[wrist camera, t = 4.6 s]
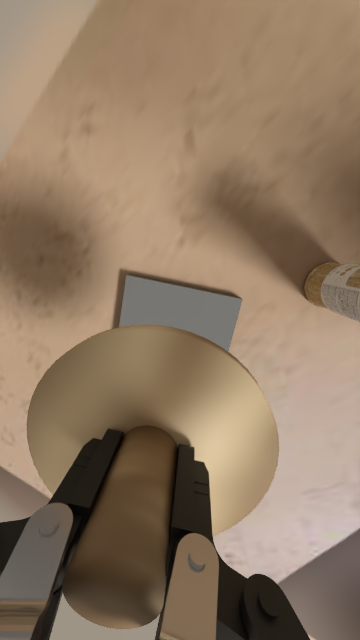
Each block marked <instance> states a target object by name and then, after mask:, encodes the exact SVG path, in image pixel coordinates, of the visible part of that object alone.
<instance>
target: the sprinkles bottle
mask: <svg viewBox="0 0 360 640" xmlns="http://www.w3.org/2000/svg"><path fill="white" fill-rule="evenodd" d="M304 290H305V294H306V297H307V298H308V300H309V301H310V302H311V303H313V304H314V305H316V306H319V307H325V308H328V309H330V310H331V311H333V312H336V313H338V314H341V315H344V316H346V317H349V318H351V319H354V320H356V321H359V322H360V264H340V263H336V262H327V263H324V264H321V265H319V266H318V267H316V268H315V269H313V270H312V271H311V273H310V274H309V275H308V277H307V279H306V282H305V286H304Z"/></svg>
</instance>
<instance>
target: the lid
mask: <svg viewBox="0 0 360 640" xmlns="http://www.w3.org/2000/svg"><path fill="white" fill-rule="evenodd" d="M108 428H109V429H114V430H118V431H123V438H122V441H121V443H120V446H119V448H118V450H117V453H116V455H115V457H114V460H113V462H112V465H111V467H110V469H109V472H108V474H107V477H106V479H105V481H104V484H103V486H102V489H101V491H100V493H99V496H98V498H97V501H96V503H95V505H94V508H93V510H92V513H91V515H90V517H89V520H88V522H87V524H86V525H85V528H84V530H83V532H82V535H81V537H80V540H79V542H78V544H77V547H76V549H75V551H74V554H73V556H72V559H71V561H70V563H69V566H68V568H67V570H66V573H65V575H64V578H63V581H62V590H63V594H64V597H65V599H66V601H67V602H68V604H69V605H70V606H71V607H72V608H73V610H75V611H76V612H77V613H78V614H79V615H81V616H82V617H84V618H85V619H87V620H89V621H91V622H93V623H95V624H98V625H101V626H105V627H109V628H116V629H132V628H137V627H141V626H144V625H146V624H148V623H150V622H152V621H153V620H154V619H155V618H157V616H158V615H159V614H160V612H161V611H162V608H163V604H164V595H165V585H166V574H167V564H168V554H169V541H168V540H169V530H170V521H171V511H172V501H173V491H174V481H175V471H176V461H177V451H178V446H179V444H182V445H187V446H191V447H194V448H195V457H194V460H196V461H201V462H204V464H205V466H206V468H207V470H208V472H209V484H210V485H209V487H210V501H211V519H212V536H214V535H217V534H219V533H221V532H223V531H225V530H227V529H229V528H231V527H232V526H234V525H235V524H237V523H238V522H240V521H241V520H242V519H244V518H245V517H246V516H247V515H248V514H250V513H251V512H252V511H253V509H254V508H255V507H256V506H257V505H258V504H259V503H260V501H261V500H262V498H263V497H264V495H265V494H266V492H267V491H268V489H269V487H270V485H271V482H272V480H273V478H274V474H275V471H276V467H277V463H278V455H279V439H278V432H277V427H276V422H275V419H274V416H273V413H272V411H271V408H270V405H269V403H268V401H267V399H266V397H265V396H264V394H263V392H262V390H261V388H260V386H259V385H258V383H257V381H256V380H255V379H254V377H253V376H252V375H251V373H250V372H249V371H248V370H247V369H246V368H245V367H244V366H243V365H242V364H241V363H240V362H239V361H238V360H237V359H236V358H235V357H234V356H233V355H231V354H230V353H229V352H227V351H226V350H225V349H224V348H222V347H220V346H219V345H217V344H215V343H214V342H212V341H210V340H208V339H206V338H204V337H202V336H199V335H197V334H194V333H192V332H189V331H185V330H181V329H178V328H174V327H168V326H161V325H131V326H123V327H118V328H114V329H110V330H106V331H104V332H101V333H99V334H96V335H94V336H91V337H90V338H88V339H86V340H84V341H83V342H81V343H79V344H78V345H76V346H75V347H73V348H72V349H70V350H69V351H68V352H66V353H65V354H64V355H63V356H61V357H60V358H59V359H58V360H56V361H55V363H54V364H53V365H52V366H51V367H50V368H49V369H48V370H47V371H46V373H45V374H44V376H43V377H42V379H41V380H40V382H39V383H38V385H37V387H36V389H35V391H34V394H33V396H32V399H31V402H30V406H29V410H28V417H27V439H28V444H29V450H30V453H31V456H32V459H33V462H34V465H35V467H36V469H37V471H38V473H39V475H40V477H41V479H42V480H43V482H44V483H45V485H46V486H47V488H48V489H49V490H50V492H51V493H52V494H53V495H54V493H55V492H56V490H57V488H58V487H59V485H60V484H61V482H62V480H63V479H64V477H65V475H66V474H67V472H68V470H69V469H70V467H71V466H72V464H73V462H74V461H75V459H76V458H77V456H78V454H79V452H80V451H81V449H82V447H83V446H84V445H85V444H86V443H87V442H89V441H90V440H91V439H92V438H96V439H101V440H102V438H103V436H104V434H105V432H106V431H107V429H108Z"/></svg>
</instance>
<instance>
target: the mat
mask: <svg viewBox="0 0 360 640" xmlns="http://www.w3.org/2000/svg"><path fill="white" fill-rule="evenodd" d="M241 302H242V299H241V298H239V297H234V296H230V295H225V294H220V293H215V292H210V291H206V290H201V289H196V288H191V287H186V286H182V285H177V284H172V283H167V282H162V281H158V280H153V279H148V278H143V277H138V276H134V275H126V280H125V287H124V294H123V301H122V309H121V316H120V323H119V327H123V326H131V325H161V326H168V327H174V328H178V329H181V330H185V331H189V332H192V333H194V334H197V335H199V336H202V337H204V338H206V339H208V340H210V341H212V342H214V343H215V344H217V345H219V346H220V347H222V348H224V349H225V350H226V351H227V352H228V350H229V347H230V343H231V339H232V335H233V332H234V328H235V324H236V321H237V317H238V313H239V310H240V306H241Z"/></svg>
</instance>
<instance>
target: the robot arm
mask: <svg viewBox="0 0 360 640" xmlns="http://www.w3.org/2000/svg"><path fill="white" fill-rule="evenodd" d="M122 438H123V431H118V430H114V429H109V428H108V429H107V431H106V432H105V434H104V436H103V438H102V440H101V439H96V438H92V439H91V440H90V441H89V442H87V443H86V444H85V445H84V446H83V447H82V449H81V451H80V452H79V454H78V456H77V458H76V459H75V461H74V462H73V464H72V466H71V467H70V469H69V470H68V472H67V474H66V475H65V477H64V479H63V480H62V482H61V484H60V485H59V487H58V488H57V490H56V492H55V493H54V495H53V497H52V498H51V500H50V501H49V503H48V504H47V505H45V506H43V507H42V508H40V509H39V510H37V511H36V512H35V513H34V514H33V515H32V516H31V517H29V518H26V519H22V520H17V521H9V522H2V523H0V640H49V639H50V635H51V632H52V628H53V625H54V621H55V618H56V614H57V611H58V607H59V604H60V600H61V597H62V594H63V590H62V581H63V578H64V575H65V573H66V570H67V568H68V566H69V563H70V561H71V559H72V556H73V554H74V551H75V549H76V547H77V544H78V542H79V540H80V537H81V535H82V532H83V530H84V528H85V525H86V524H87V522H88V520H89V517H90V515H91V513H92V510H93V508H94V505H95V503H96V501H97V498H98V496H99V493H100V491H101V489H102V486H103V484H104V481H105V479H106V477H107V474H108V472H109V469H110V467H111V465H112V462H113V460H114V457H115V455H116V453H117V450H118V448H119V446H120V443H121V441H122ZM194 457H195V448H194V447H191V446H187V445H182V444H179V446H178V451H177V461H176V471H175V481H174V491H173V501H172V511H171V521H170V530H169V540H168V541H169V554H168V564H167V574H166V587H165V596H164V604H163V608H162V611H161V612H160V617H159V622H158V627H157V631H156V636H155V640H310V638H309V637H308V635H307V633H306V631H305V630H304V628H303V626H302V625H301V623H300V621H299V619H298V617H297V615H296V614H295V612H294V610H293V608H292V607H291V605H290V603H289V601H288V599H287V598H286V596H285V594H284V593H283V591H282V590H281V588H280V587H279V586H278V585H277V584H276V583H275V582H274V581H273V580H272V579H270V578H269V577H267V576H265V575H262V574H254V575H252V576H250V577H249V578H248V579H247V578H245V577H244V576H242V575H241V574H239V573H238V572H236V571H235V570H233V569H232V568H230V567H229V566H228V565H227V564H226V563H225V562H224V561H223V560H222V559H221V557H220V556H219V554H218V552H217V550H216V548H215V545H214V542H213V536H212V519H211V501H210V487H209V485H210V484H209V472H208V470H207V468H206V466H205V464H204V462H201V461H196V460H194Z"/></svg>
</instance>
